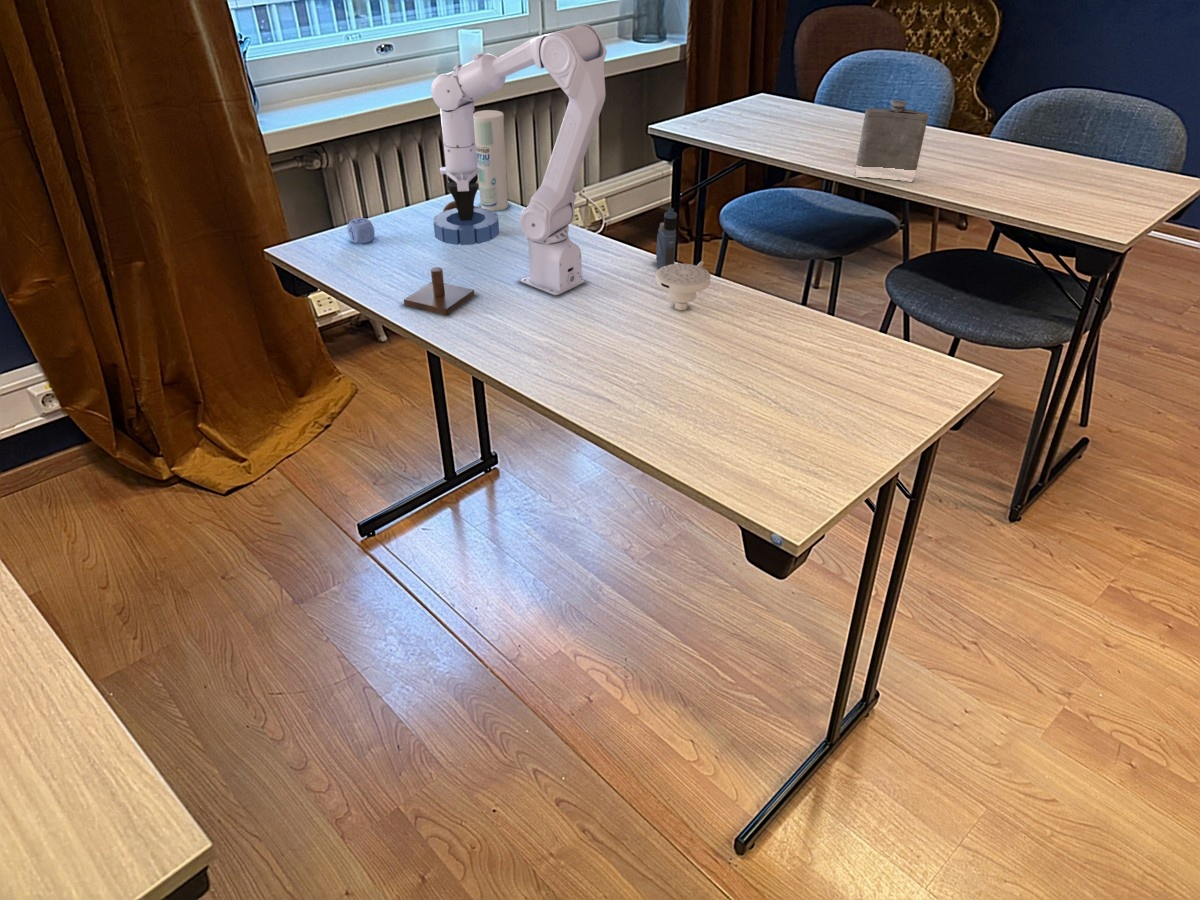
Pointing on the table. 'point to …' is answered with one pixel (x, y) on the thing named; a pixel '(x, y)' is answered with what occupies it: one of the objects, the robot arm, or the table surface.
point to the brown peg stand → (439, 295)
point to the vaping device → (666, 239)
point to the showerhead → (683, 282)
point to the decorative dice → (361, 230)
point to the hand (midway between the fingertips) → (466, 216)
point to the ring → (466, 227)
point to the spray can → (491, 159)
